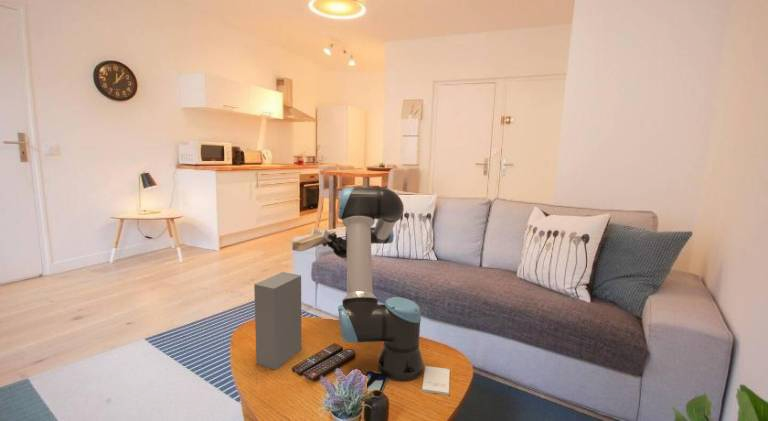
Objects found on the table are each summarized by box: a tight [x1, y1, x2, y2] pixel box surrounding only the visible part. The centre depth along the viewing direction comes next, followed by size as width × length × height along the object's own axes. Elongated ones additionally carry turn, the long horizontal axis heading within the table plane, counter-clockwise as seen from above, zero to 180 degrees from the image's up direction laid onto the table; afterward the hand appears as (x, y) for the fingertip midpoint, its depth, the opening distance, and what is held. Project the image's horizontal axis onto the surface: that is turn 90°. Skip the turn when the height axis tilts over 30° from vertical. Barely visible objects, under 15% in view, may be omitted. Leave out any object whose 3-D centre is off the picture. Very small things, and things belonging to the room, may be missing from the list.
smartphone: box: [364, 370, 389, 393], centre depth 114 cm, size 7×1×15 cm
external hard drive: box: [421, 365, 451, 396], centre depth 118 cm, size 2×8×12 cm
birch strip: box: [292, 230, 337, 252], centre depth 139 cm, size 4×22×3 cm, turn 156°
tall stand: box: [253, 271, 303, 371], centre depth 127 cm, size 8×14×28 cm, turn 156°
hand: (318, 232), depth 141 cm, fingers closed on birch strip, 4 cm apart
